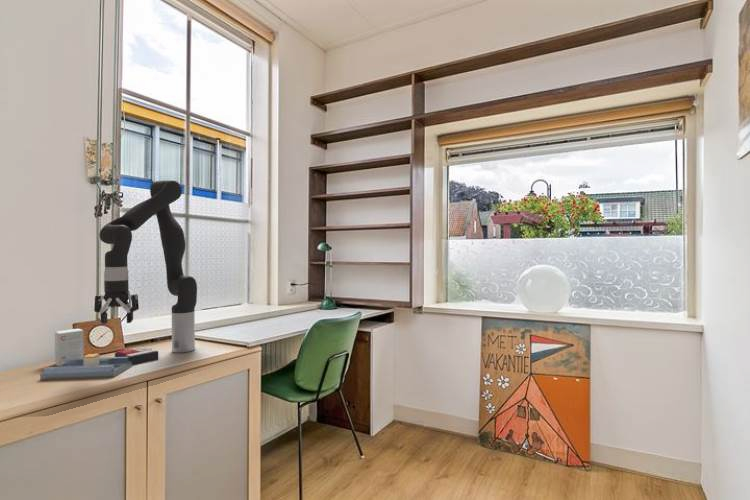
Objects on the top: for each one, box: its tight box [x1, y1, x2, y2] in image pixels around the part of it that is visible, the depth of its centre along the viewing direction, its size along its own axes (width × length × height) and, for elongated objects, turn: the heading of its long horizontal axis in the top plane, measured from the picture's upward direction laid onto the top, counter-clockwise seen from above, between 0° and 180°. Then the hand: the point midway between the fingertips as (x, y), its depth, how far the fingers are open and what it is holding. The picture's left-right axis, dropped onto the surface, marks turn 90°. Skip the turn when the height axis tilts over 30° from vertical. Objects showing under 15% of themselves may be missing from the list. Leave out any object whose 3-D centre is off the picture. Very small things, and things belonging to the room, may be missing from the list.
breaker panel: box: [39, 356, 133, 381], centre depth 146 cm, size 13×24×4 cm, turn 96°
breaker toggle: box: [83, 353, 100, 366], centre depth 146 cm, size 4×4×4 cm
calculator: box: [114, 346, 159, 366], centre depth 164 cm, size 11×4×15 cm
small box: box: [54, 328, 85, 367], centre depth 158 cm, size 8×6×13 cm
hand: (116, 323), depth 147 cm, fingers open, 8 cm apart
